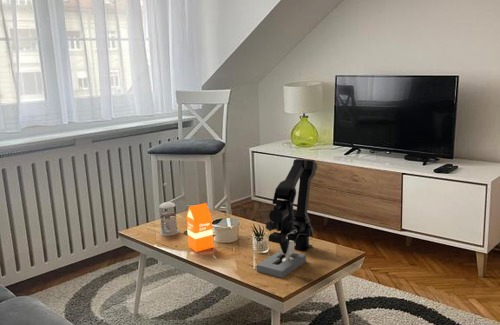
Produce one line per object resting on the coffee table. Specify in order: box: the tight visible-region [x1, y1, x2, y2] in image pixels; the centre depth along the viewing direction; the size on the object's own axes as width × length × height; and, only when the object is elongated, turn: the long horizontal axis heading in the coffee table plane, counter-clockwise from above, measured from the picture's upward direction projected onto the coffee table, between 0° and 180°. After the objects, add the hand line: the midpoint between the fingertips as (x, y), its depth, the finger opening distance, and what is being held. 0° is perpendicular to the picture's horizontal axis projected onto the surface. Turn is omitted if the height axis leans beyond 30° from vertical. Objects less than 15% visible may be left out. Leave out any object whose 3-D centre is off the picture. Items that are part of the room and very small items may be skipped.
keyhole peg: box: [280, 240, 295, 263], centre depth 210 cm, size 5×5×9 cm
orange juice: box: [186, 202, 214, 253], centre depth 230 cm, size 8×9×20 cm
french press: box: [158, 182, 180, 237], centre depth 251 cm, size 10×12×25 cm
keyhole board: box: [256, 249, 307, 279], centre depth 207 cm, size 18×12×3 cm, turn 143°
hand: (287, 251), depth 210 cm, fingers closed on keyhole peg, 4 cm apart
